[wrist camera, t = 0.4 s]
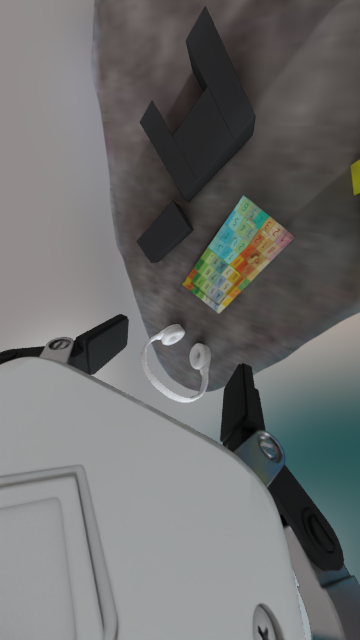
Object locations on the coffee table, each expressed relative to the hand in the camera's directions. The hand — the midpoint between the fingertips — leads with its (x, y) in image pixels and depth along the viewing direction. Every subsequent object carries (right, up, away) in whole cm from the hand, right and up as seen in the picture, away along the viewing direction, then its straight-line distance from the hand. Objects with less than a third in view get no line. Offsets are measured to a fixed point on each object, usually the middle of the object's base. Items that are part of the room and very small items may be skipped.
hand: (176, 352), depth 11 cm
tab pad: (-3, +23, +24) cm, 34 cm away
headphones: (+3, -3, +35) cm, 36 cm away
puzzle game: (+12, +16, +23) cm, 30 cm away
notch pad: (+4, +37, +16) cm, 40 cm away
